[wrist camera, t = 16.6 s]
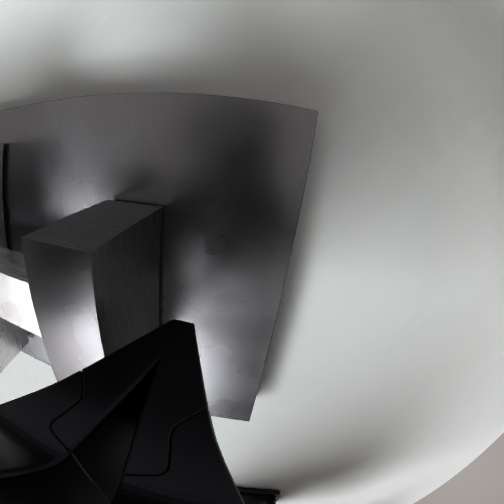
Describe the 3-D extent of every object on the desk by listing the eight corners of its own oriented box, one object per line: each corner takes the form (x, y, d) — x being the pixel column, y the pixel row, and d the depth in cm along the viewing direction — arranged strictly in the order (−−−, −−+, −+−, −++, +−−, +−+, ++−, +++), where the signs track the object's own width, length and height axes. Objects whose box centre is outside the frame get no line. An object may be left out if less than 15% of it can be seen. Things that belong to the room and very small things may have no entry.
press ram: (169, 140, 8) (92, 138, 4) (162, 389, 11) (135, 462, 7) (-30, 148, 7) (-89, 161, 4) (-6, 322, 11) (-45, 358, 7)
